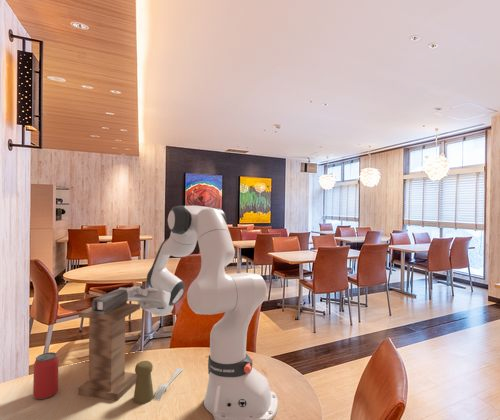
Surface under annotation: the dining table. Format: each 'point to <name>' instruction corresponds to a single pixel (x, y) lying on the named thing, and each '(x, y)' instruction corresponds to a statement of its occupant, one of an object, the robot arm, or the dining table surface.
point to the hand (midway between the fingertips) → (133, 289)
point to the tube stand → (108, 347)
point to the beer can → (45, 376)
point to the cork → (143, 383)
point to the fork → (167, 384)
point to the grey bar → (131, 293)
